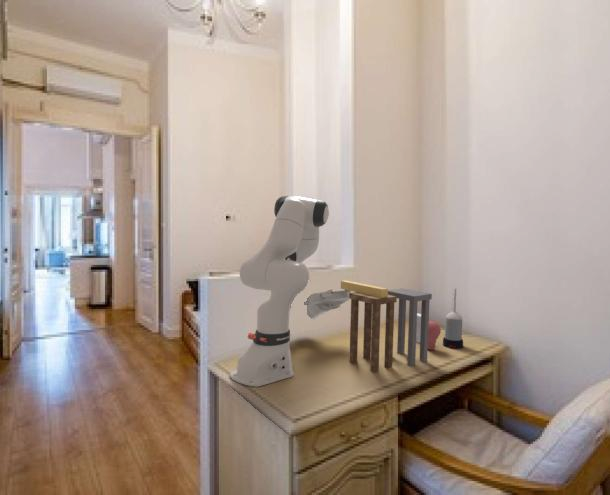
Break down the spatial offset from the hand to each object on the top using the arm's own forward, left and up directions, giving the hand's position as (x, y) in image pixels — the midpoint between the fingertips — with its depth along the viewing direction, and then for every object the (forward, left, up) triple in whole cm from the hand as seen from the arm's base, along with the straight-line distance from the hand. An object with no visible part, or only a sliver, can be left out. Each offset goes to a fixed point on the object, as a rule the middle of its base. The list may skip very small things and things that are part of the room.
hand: (340, 290), depth 156 cm
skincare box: (+35, -18, -25) cm, 47 cm away
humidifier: (+39, -32, -25) cm, 57 cm away
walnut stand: (-5, -17, -25) cm, 31 cm away
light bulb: (+27, -27, -25) cm, 46 cm away
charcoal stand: (+10, -24, -25) cm, 36 cm away
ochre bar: (-3, -12, +1) cm, 13 cm away
